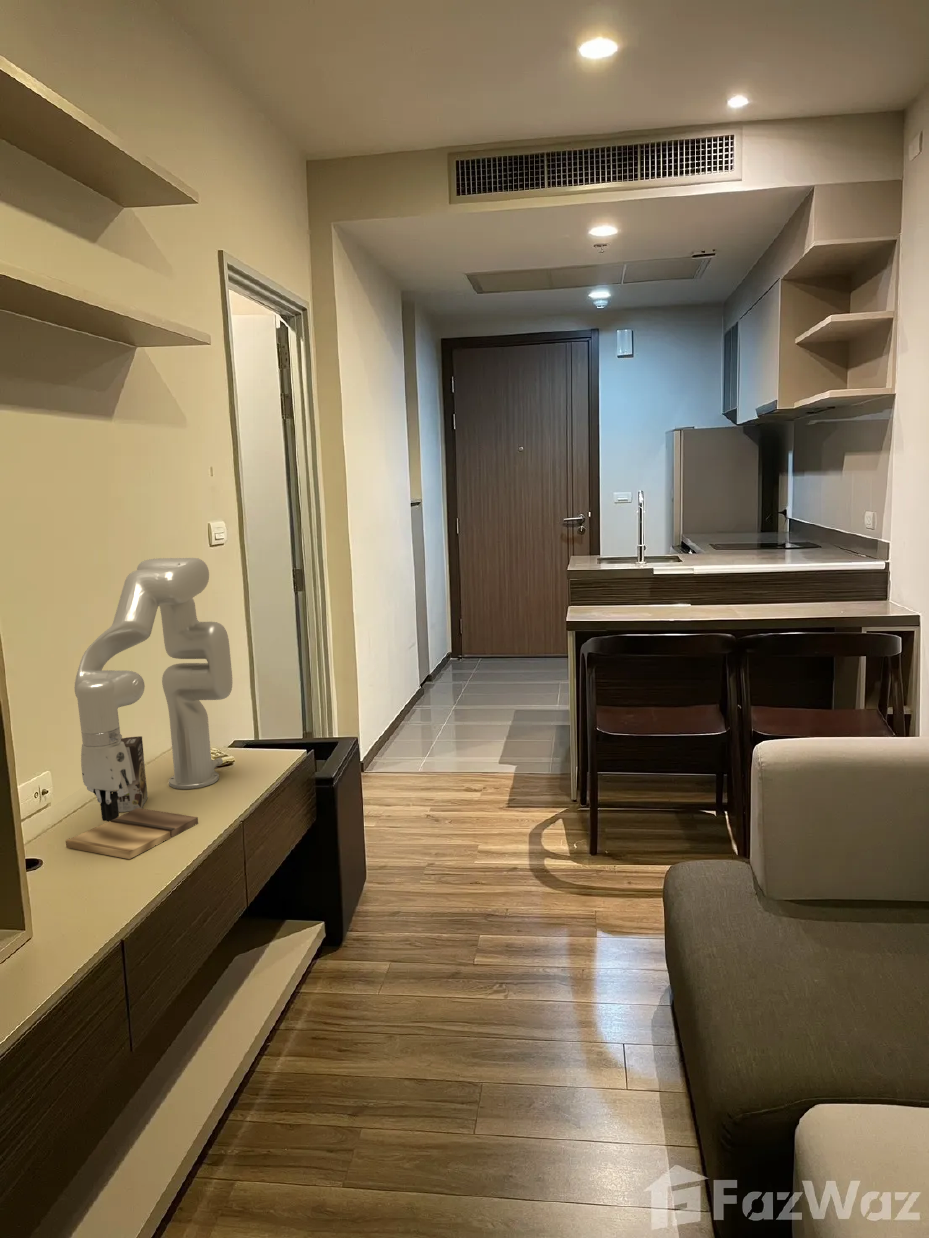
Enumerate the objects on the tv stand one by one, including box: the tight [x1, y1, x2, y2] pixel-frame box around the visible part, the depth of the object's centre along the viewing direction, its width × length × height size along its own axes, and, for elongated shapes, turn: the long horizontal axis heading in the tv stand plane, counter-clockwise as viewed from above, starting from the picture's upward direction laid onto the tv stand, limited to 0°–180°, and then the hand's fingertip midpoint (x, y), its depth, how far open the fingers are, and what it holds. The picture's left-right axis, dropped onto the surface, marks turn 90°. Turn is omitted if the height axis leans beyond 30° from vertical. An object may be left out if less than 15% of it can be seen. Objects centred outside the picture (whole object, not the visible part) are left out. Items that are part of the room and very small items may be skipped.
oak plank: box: [65, 821, 171, 860], centre depth 190 cm, size 12×18×2 cm, turn 66°
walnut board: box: [109, 807, 199, 838], centre depth 200 cm, size 8×18×2 cm, turn 66°
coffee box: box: [112, 736, 148, 813], centre depth 212 cm, size 9×6×16 cm
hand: (110, 818), depth 188 cm, fingers closed
